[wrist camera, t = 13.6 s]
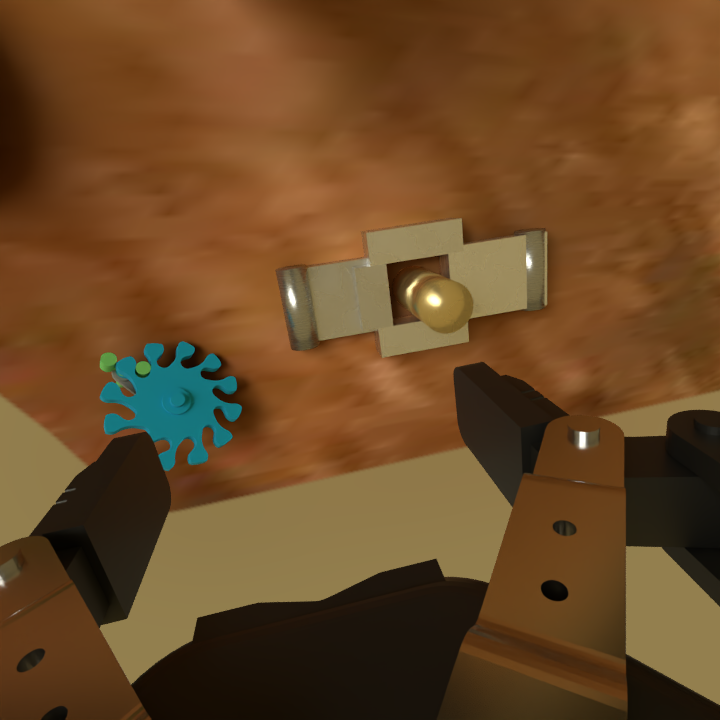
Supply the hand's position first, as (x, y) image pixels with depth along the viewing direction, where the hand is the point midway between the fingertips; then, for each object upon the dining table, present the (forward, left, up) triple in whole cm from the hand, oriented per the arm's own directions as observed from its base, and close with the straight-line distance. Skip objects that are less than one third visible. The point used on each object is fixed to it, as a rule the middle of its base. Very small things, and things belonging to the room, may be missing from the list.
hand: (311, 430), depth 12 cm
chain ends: (+2, +10, -26) cm, 28 cm away
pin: (+2, +10, -26) cm, 28 cm away
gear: (+7, -11, -27) cm, 29 cm away
